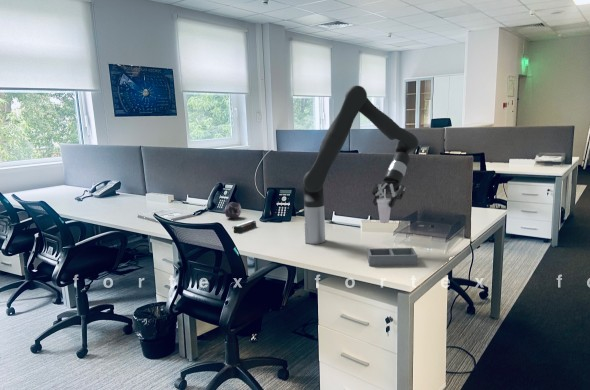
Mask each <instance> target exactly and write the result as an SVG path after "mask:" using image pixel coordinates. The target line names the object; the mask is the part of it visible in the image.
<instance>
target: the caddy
mask: <svg viewBox="0 0 590 390" xmlns="http://www.w3.org/2000/svg"><path fill="white" fill-rule="evenodd" d="M366 259H367V263H368V266H369V267H390V266H391V267H393V266H394V267H395V266H396V267H397V266H398V267H401V266H403V267H404V266H405V267H407V266H409V267H410V266H418V254H417V252H416V251H415V249H414V248H413V247H390V248H389V247H384V248H383V247H382V248H380V247H379V248H367V249H366Z"/></svg>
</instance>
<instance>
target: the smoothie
mask: <svg viewBox="0 0 590 390" xmlns="http://www.w3.org/2000/svg"><path fill="white" fill-rule="evenodd" d="M386 195H387V194H386V189H384V196H383V197H380V198H379V199H377V203H378V204H377V210H378V216H379V217H378V218H379V222H380V223H382V224H387V223H388V224H389V223H390V216H391V207H389V202H390V200H391V198H388V197H386Z"/></svg>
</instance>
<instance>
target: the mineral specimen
mask: <svg viewBox="0 0 590 390" xmlns="http://www.w3.org/2000/svg"><path fill="white" fill-rule="evenodd" d="M241 214H242V207H241V204H240V202H235V201H231V202H229V203H227V204H226V206H225V208H224V215H225V217H226V218H229V219H237V218H239V217H240V215H241Z"/></svg>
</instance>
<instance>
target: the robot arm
mask: <svg viewBox="0 0 590 390" xmlns="http://www.w3.org/2000/svg"><path fill="white" fill-rule="evenodd" d="M359 113H360V114H361V115H363V116H364V117H365V119H368V121H369V122H371V123H372V125H374V127H375V128H377V129H378V130H379V131H380V132H381V133H382V134H384V136H385V137H386V138H388V139H389V140H391V141H393V140H397V141H398V142H397V143H396V145H395V147H394V153H393V158H392V160H391V162H390V164H389V166H388V169H387V170H386V172H385V175H384V177H383V181H382V182H381V184H379V183H377V182H375V183H374V185H373V186H374V187H373V189H372V192H371V194H372V196H373V197H374V199H373V201H372V202H373V205H374V206H376V207H378V203H377V199H379V198H383V197H384V189H386V195H391V196H392V197H391V198H390V199H391V200H390V202H389V207H391V208H393V207H394V206H395V204H396V201H397V200H402V198H403V197H404V195H405V192H406V190H407V188H406V186H405V185H404V184H402V183H403V180H404V178H405V175H406V171H407V168H408V166H409V163H410V160H411V159H410V156H409V154H410V153H411V152H413V151H415V150H416V149H417V148H418V147H419V140H418V138H417V136H416V135H414V134H413V133H412V132H410V131H408V130H406V129H404V128H403V127H400V125H398V123H396V121H394V120H393V119H392V118H391V117H390V116H388V115H387V114H386V113H384V112H383V111H382V110H380V109H379V108H378V107H377V106H376V105H374V104H373V103H372V102H371V101H370V99H369V98H368V94H367V90H366V89H365V88H364V87H363V86H361V85H353V86H351V87H349V88H348V89H347V91H346V93H345V95H344V100H343V103H342V106H341V108H340V109H339V112H338V113H337V115H336V117H335V118H334V120H333V121H332V122H331V124H330V126H329V128H328V129H327V131H326V133H325V135H324V138H323V139H322V141H321V144H320V147H319V149H318V152H317V156H316V159H315V161H314V163H313V165H312V166H311V168H310V170H308V171H307V172H306V173H305V174H304V175H303V178H302V184H303V185H302V187H303V188H302V189H303V206H304V207H303V208H304V210H303V211H304V240H305V244H311V245H313V244H314V245H315V244H316V245H319V244H323V243H325V242H326V225H325V224H326V221H325V199H324V198H325V197H324V184H325V182H326V179H327V176H328V174H329V172H330V169H331V167H332V165H333V164H334V162H335V160H336V159H337V157H338V155H339V153H340V152H341V150H342V148H343V147H344V145H345V143H346V141H347V139H348V136H349V135H350V134H349V133H350V131H351V128H352V126H353V123H354V121H355V119H356V116H357V115H358V114H359ZM397 191H398V192H397Z"/></svg>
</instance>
